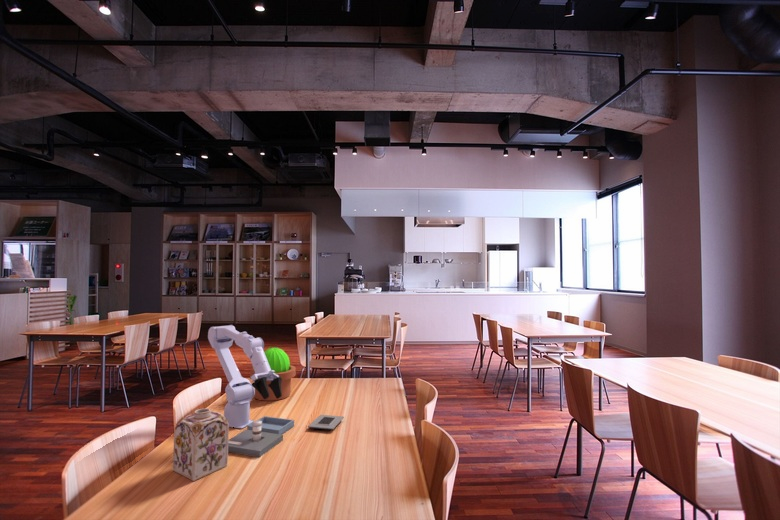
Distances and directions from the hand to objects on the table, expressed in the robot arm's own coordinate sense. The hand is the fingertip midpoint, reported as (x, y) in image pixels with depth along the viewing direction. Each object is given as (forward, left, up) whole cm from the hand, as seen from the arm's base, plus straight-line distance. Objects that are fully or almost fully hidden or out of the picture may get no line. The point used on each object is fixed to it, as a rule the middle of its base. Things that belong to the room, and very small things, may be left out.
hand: (273, 397), depth 141 cm
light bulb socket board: (-4, -7, -15) cm, 17 cm away
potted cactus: (-30, +45, -15) cm, 57 cm away
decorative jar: (-9, -26, -15) cm, 31 cm away
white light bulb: (-3, -6, -15) cm, 17 cm away
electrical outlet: (+13, +18, -16) cm, 28 cm away
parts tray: (-6, +8, -15) cm, 18 cm away
